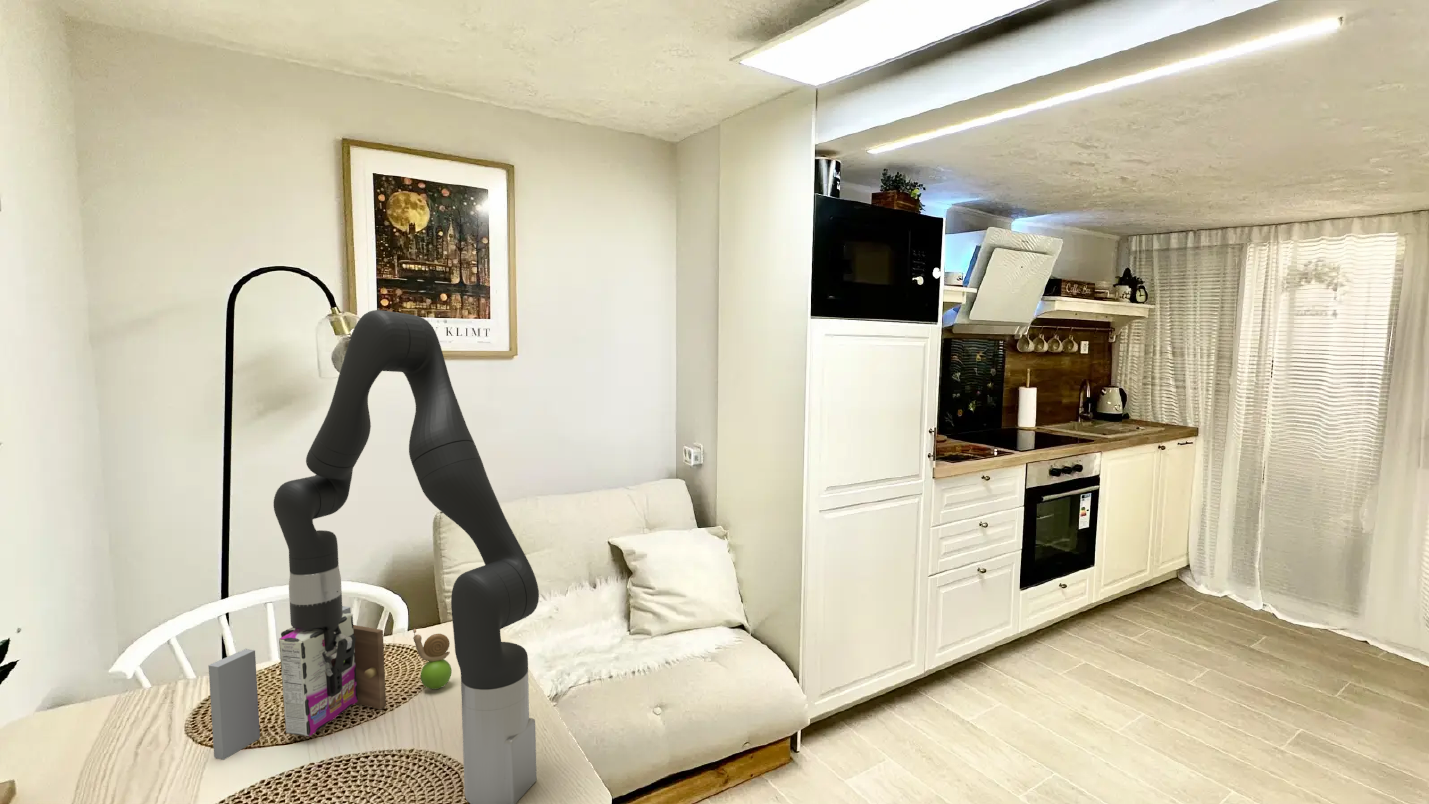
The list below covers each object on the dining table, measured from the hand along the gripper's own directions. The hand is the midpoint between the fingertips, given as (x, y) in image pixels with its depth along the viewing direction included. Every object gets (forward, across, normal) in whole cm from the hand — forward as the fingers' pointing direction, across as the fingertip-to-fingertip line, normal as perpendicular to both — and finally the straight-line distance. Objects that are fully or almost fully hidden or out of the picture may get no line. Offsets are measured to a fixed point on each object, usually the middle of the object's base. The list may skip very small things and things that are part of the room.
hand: (320, 691), depth 112 cm
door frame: (+6, +8, 0) cm, 10 cm away
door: (+6, 0, -7) cm, 9 cm away
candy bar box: (+5, 0, 0) cm, 5 cm away
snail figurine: (+6, -9, -16) cm, 20 cm away
